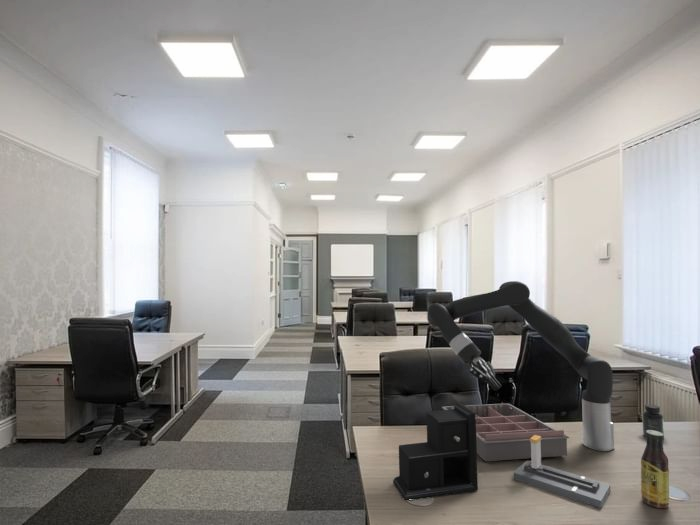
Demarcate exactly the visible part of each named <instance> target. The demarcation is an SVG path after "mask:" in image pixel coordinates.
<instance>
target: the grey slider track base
mask: <svg viewBox="0 0 700 525" xmlns="http://www.w3.org/2000/svg"><path fill="white" fill-rule="evenodd" d="M530 464H531V460H526V461H524V462H523V463H522V464H521V465H520V466H518V467H517V469H515V470H514V471H513V480H516V481H518V482H521V483H523V484H528V485H531V486H534V487H537V488H538V489H539V488H540V489H543V490H545V491H549V492H552V493H554V494H557V495H560V496H563V497H566V498H569V499H573V500H575V501H578V502H581V503H585V504H588V505H590V506H593V507H596V508H599V509H602V508H603V506H604V504H605V502H606V500H607V499H608V498H609V496H610V493H611V492H612V491H611V484H610V483H606V482H602V481H598V480H596V479H593V478H589V477H586V476H583V475H578V474H575V473H572V472H569V471H565V470H561V469H558V468H555V467H552V466H548V465H545V464H542V463H541V466H540V467H543V471H541V470H537V469H534V468H531V467H530Z"/></svg>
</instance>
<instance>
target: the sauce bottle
mask: <svg viewBox="0 0 700 525" xmlns="http://www.w3.org/2000/svg"><path fill="white" fill-rule="evenodd" d="M645 438H646V440H645V441H646V446H645V449H644V451H643V453H642V456H641V460H640V467H641V468H640V474H641V475H640V479H641V480H640V491H641V492H640V493H641V499H642V501H643V502H644V503H645V504H647V505H649V506H651V507H653V508H656V509H657V508H658V509H666V508H668V507H669V504H670V503H669V502H670V470H669V469H670V468H669V459H668V456H667V455H666V454H665V451H664V439H665V434H664V435H663V434H662V433H661V432H658V431H654V430H647V431H646V436H645Z"/></svg>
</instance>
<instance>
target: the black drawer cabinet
mask: <svg viewBox="0 0 700 525" xmlns="http://www.w3.org/2000/svg"><path fill="white" fill-rule="evenodd" d="M453 406H454V409H451V410H444V409H442V410H440V409H439V410H431V411H426V441H425V442H416V443H415V442H414V443H405V444H400V445H398V470H399V472H398V473H399V474H398V475H399V476H395V477H394V478H393V480H392V483H393V485H394V487H395V488H396V490H397V491H398V493H399V494H400V496H401V498H402V499H403V498H404V499H403V500H404V501H405V500H409V499H416V500H421V499H420V498H423V499H428V498H427V497H430V498H435V497H437V498H438V497H443V496H452V495H459V494H465V493H472V492H478V491H479V486H478V485H479V484H478V482H479V480H478V454H477V443H476V419H475V417H476V414H475V412H474V411H473V410H471V409H469V408H468V407H466V405H464V404H463V403H461V402H459V401H457V402H456V403H454V405H453ZM409 501H410V500H409Z"/></svg>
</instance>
